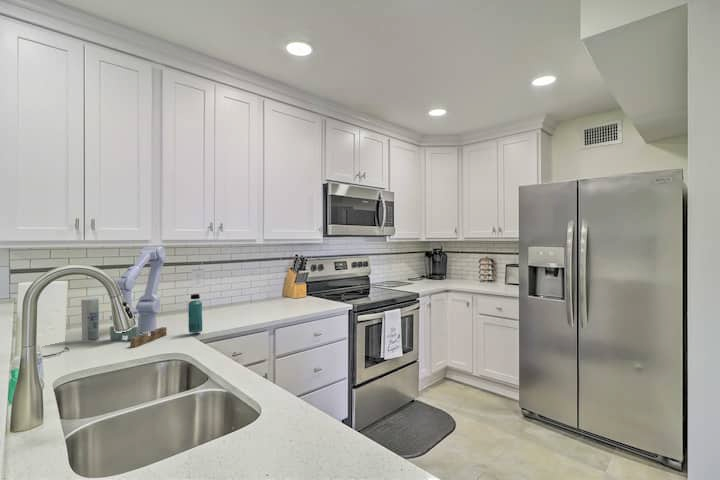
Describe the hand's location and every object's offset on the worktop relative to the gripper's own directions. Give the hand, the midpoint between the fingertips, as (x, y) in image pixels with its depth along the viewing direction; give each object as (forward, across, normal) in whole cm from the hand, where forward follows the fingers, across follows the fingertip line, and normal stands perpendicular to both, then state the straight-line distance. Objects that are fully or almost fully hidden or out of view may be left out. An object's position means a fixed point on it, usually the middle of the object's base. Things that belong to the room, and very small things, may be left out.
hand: (124, 332), depth 171 cm
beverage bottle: (+4, -13, +28) cm, 31 cm away
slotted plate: (+3, 0, 0) cm, 3 cm away
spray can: (+4, +3, -15) cm, 16 cm away
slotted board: (+4, 0, +13) cm, 14 cm away
